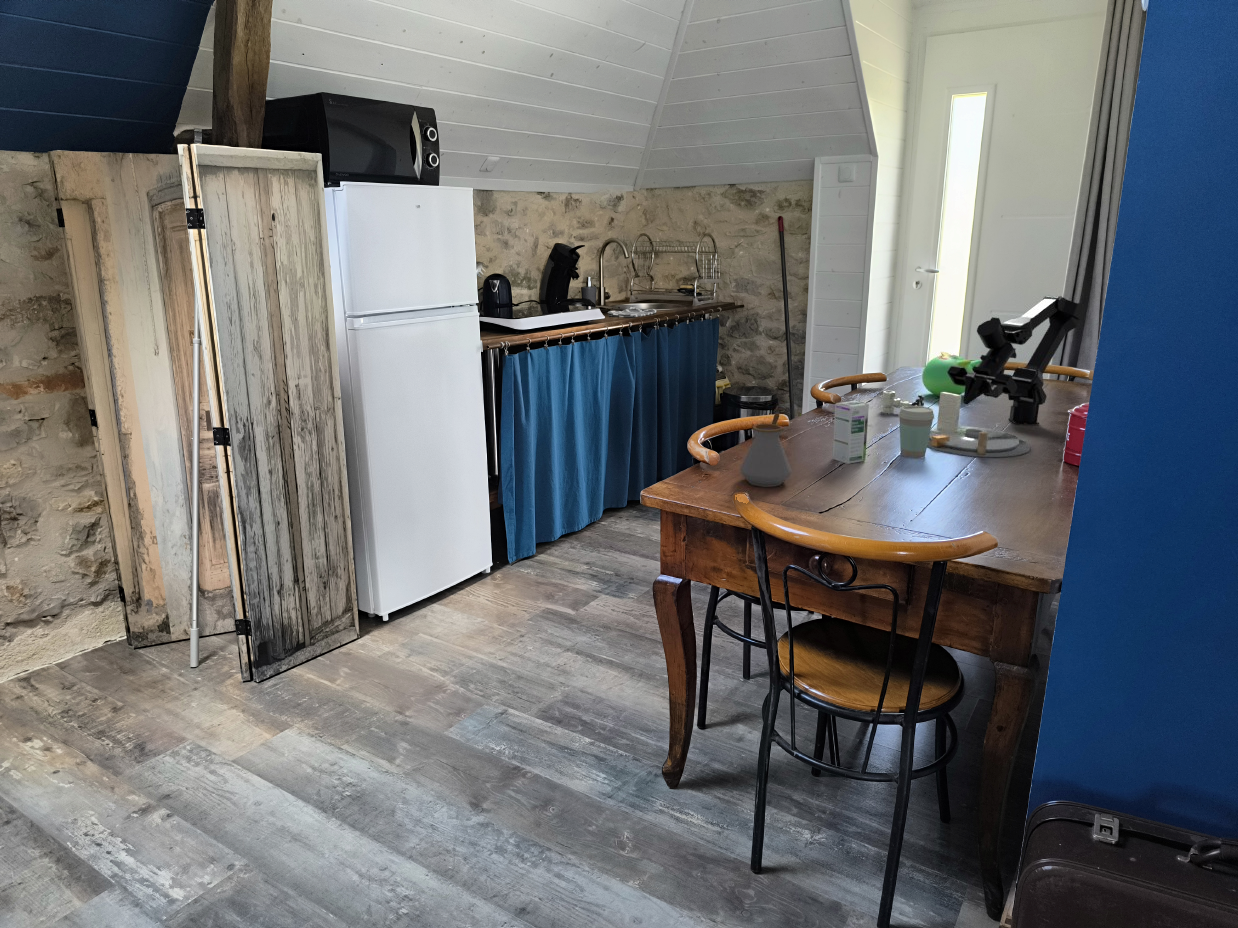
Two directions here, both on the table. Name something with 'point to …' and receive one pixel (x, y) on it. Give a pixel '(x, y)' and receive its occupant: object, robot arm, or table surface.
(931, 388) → the toy bird
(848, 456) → the syrup box
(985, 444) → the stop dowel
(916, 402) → the valve
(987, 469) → the table surface
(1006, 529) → the table surface
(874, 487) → the table surface
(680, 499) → the table surface
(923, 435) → the coffee cup
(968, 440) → the grey stand
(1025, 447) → the grey round disc
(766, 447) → the coffee pot
